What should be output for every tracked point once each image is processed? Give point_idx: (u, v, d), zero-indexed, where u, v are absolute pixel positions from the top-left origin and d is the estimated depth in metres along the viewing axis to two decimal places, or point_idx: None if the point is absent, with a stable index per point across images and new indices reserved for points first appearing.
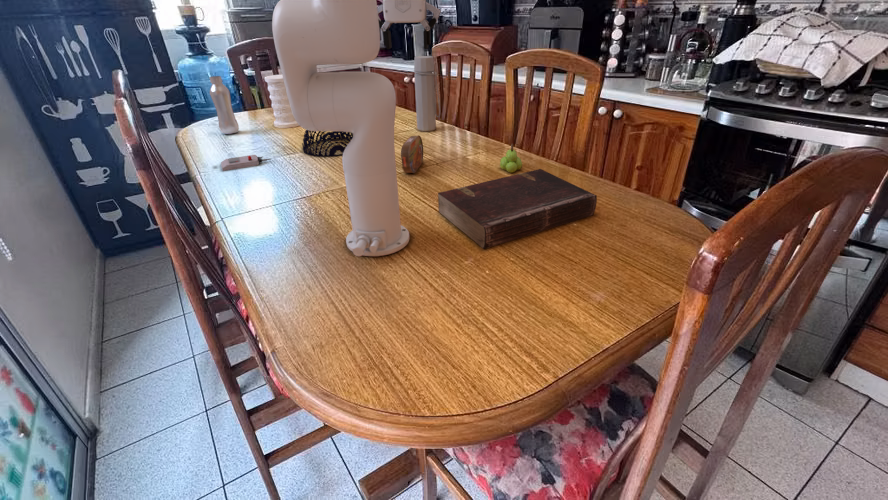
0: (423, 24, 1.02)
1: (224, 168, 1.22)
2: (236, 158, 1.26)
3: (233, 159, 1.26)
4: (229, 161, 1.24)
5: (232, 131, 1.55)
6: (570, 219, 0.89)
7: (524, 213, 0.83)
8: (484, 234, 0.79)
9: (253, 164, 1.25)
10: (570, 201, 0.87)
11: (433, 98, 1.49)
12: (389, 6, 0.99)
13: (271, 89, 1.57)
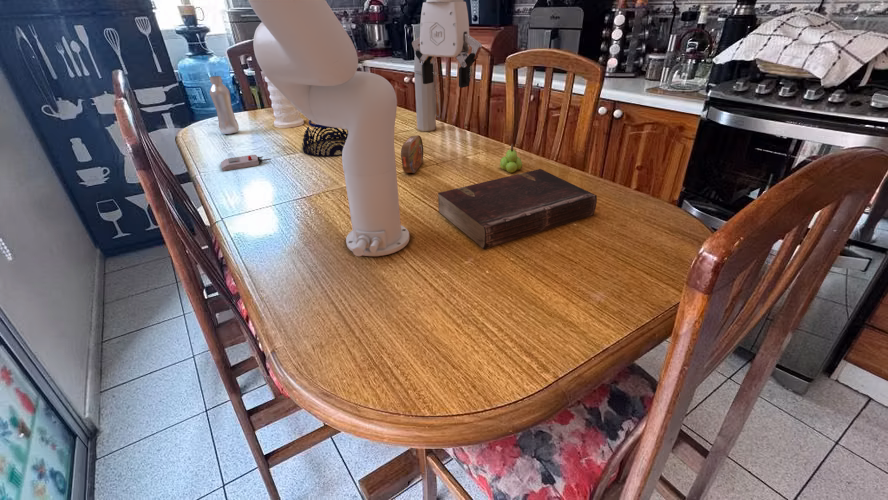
0: (459, 59, 0.86)
1: (224, 168, 1.21)
2: (236, 158, 1.26)
3: (233, 159, 1.25)
4: (229, 161, 1.24)
5: (232, 131, 1.55)
6: (570, 219, 0.89)
7: (524, 213, 0.83)
8: (484, 234, 0.79)
9: (253, 164, 1.25)
10: (570, 201, 0.87)
11: (433, 98, 1.49)
12: (424, 37, 0.87)
13: (271, 89, 1.57)
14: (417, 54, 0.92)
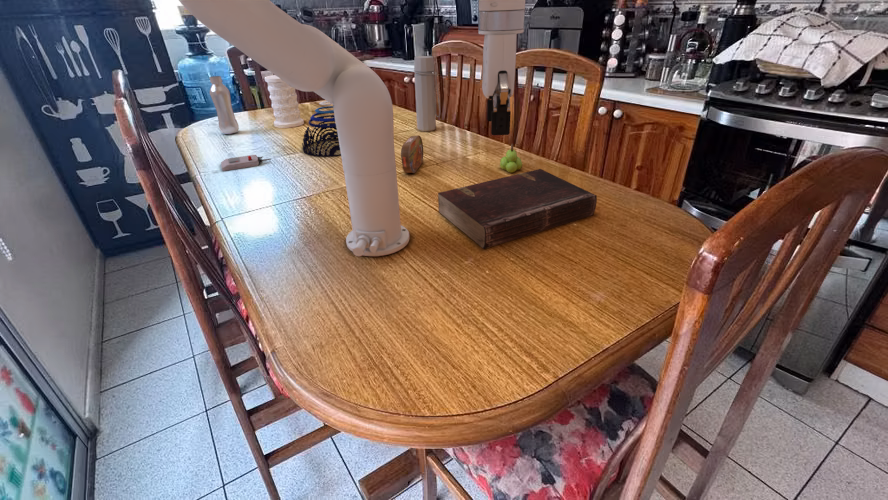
0: (493, 102, 0.71)
1: (224, 168, 1.21)
2: (236, 158, 1.26)
3: (233, 159, 1.25)
4: (229, 161, 1.23)
5: (232, 131, 1.55)
6: (570, 219, 0.89)
7: (524, 213, 0.83)
8: (484, 234, 0.79)
9: (253, 164, 1.24)
10: (570, 201, 0.87)
11: (433, 98, 1.49)
12: None
13: (271, 89, 1.57)
14: None
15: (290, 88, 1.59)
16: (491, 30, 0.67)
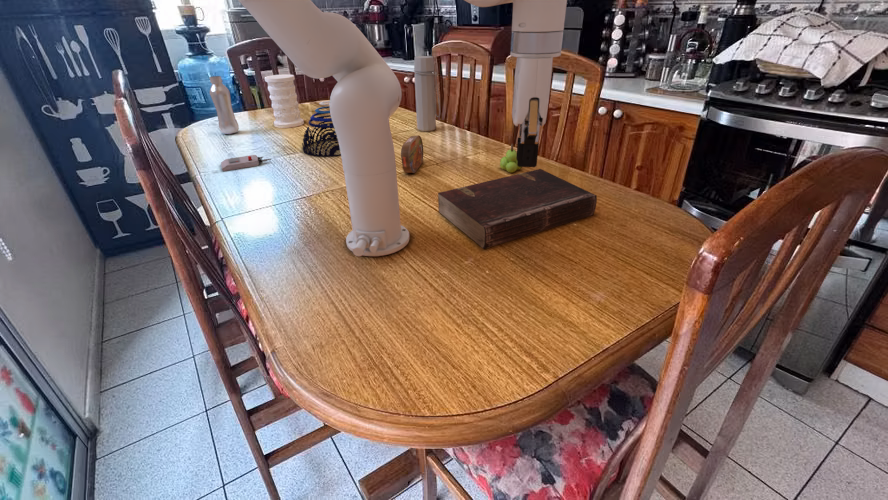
0: (521, 132, 0.67)
1: (224, 168, 1.21)
2: (236, 158, 1.26)
3: (233, 159, 1.25)
4: (229, 161, 1.23)
5: (232, 131, 1.55)
6: (570, 219, 0.89)
7: (524, 213, 0.83)
8: (484, 234, 0.79)
9: (253, 164, 1.24)
10: (570, 201, 0.87)
11: (433, 98, 1.49)
12: None
13: (271, 89, 1.57)
14: None
15: (290, 88, 1.59)
16: (524, 53, 0.60)
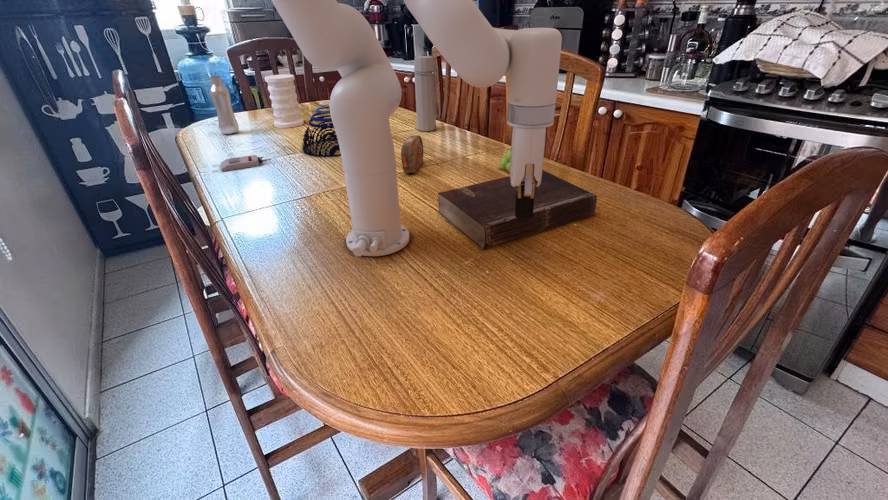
0: (518, 188, 0.73)
1: (224, 168, 1.21)
2: (236, 158, 1.26)
3: (233, 159, 1.25)
4: (229, 161, 1.23)
5: (232, 131, 1.55)
6: (570, 219, 0.89)
7: None
8: (484, 234, 0.79)
9: (253, 164, 1.24)
10: (570, 201, 0.87)
11: (433, 98, 1.49)
12: None
13: (271, 89, 1.57)
14: None
15: (290, 88, 1.59)
16: (520, 124, 0.65)
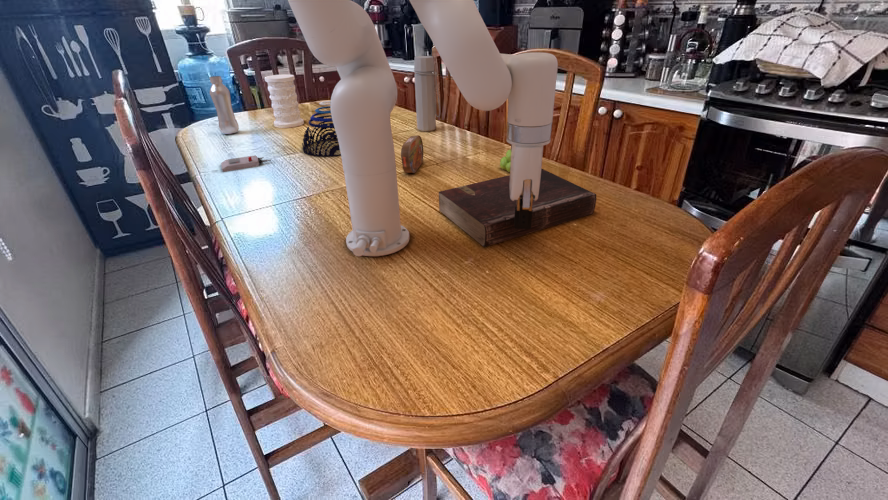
0: (517, 201, 0.77)
1: (224, 169, 1.21)
2: (236, 159, 1.26)
3: (234, 160, 1.25)
4: (229, 162, 1.23)
5: (232, 131, 1.55)
6: (570, 217, 0.89)
7: None
8: (484, 232, 0.79)
9: (253, 165, 1.24)
10: (570, 199, 0.88)
11: (433, 98, 1.49)
12: None
13: (271, 89, 1.57)
14: None
15: (290, 88, 1.59)
16: (518, 142, 0.69)
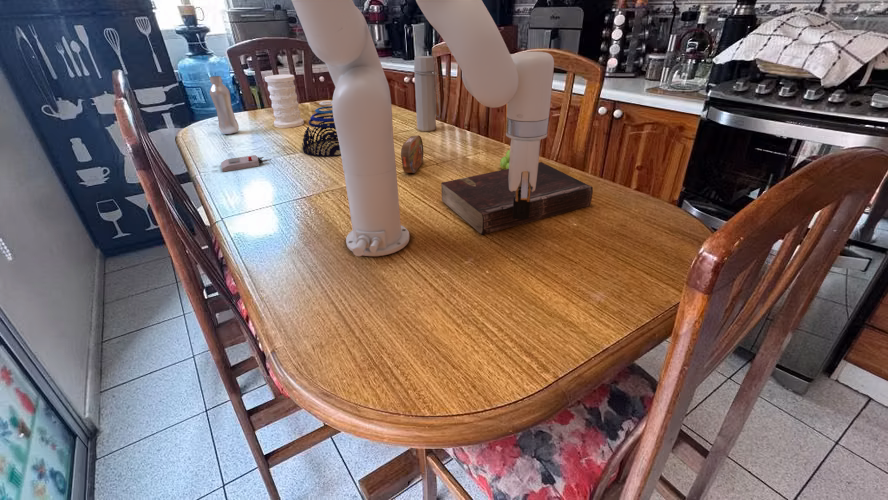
0: None
1: (224, 169, 1.21)
2: (236, 158, 1.25)
3: (234, 159, 1.25)
4: (229, 162, 1.23)
5: (232, 131, 1.55)
6: (566, 209, 0.93)
7: None
8: (482, 220, 0.84)
9: (253, 165, 1.24)
10: (567, 191, 0.92)
11: (433, 98, 1.49)
12: None
13: (271, 89, 1.57)
14: None
15: (290, 88, 1.59)
16: (517, 136, 0.74)
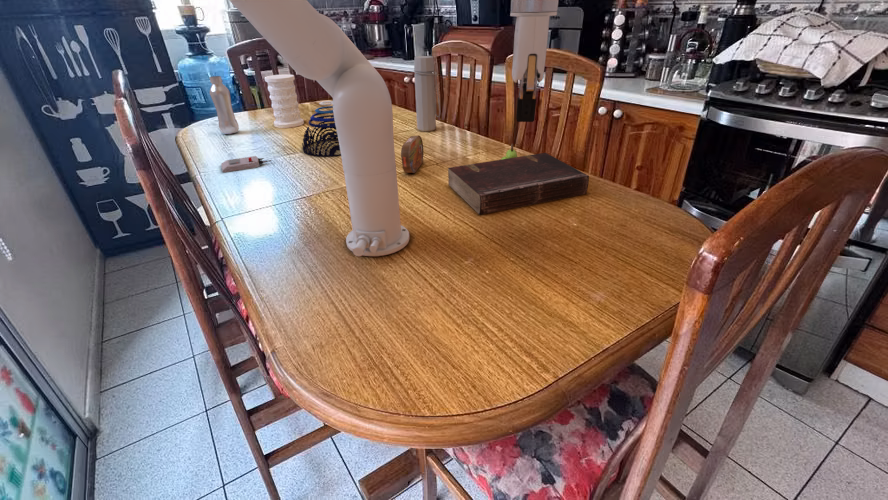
0: (520, 88, 0.73)
1: (224, 170, 1.20)
2: (236, 159, 1.25)
3: (234, 160, 1.24)
4: (229, 163, 1.23)
5: (232, 131, 1.55)
6: (562, 195, 0.99)
7: (518, 186, 0.95)
8: (479, 201, 0.92)
9: (253, 166, 1.23)
10: (563, 179, 0.98)
11: (433, 98, 1.49)
12: None
13: (271, 89, 1.57)
14: None
15: (290, 88, 1.59)
16: (523, 12, 0.65)
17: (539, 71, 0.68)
